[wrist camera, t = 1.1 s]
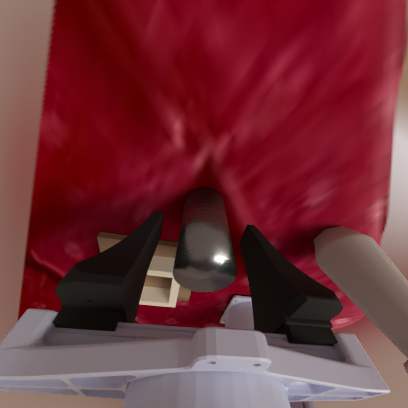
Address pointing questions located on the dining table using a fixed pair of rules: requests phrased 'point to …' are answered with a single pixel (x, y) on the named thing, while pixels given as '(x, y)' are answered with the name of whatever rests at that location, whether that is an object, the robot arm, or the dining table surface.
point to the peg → (204, 244)
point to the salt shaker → (366, 280)
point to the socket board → (155, 273)
